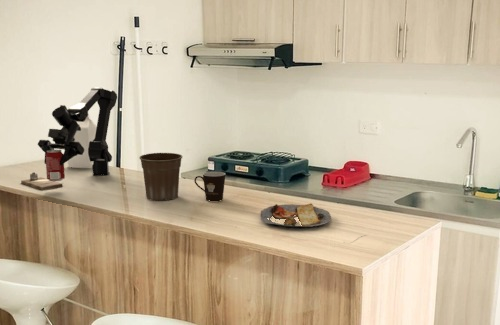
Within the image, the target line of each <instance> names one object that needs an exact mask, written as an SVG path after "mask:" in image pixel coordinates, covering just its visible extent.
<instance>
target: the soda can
mask: <svg viewBox="0 0 500 325" xmlns="http://www.w3.org/2000/svg"><path fill="white" fill-rule="evenodd" d="M63 154H64V152H62V149H54V150H48V151H47V154H46V164H45V171H46V179H48V180H49V181H55V182H60V181H63V180H64V179H65V163H64V164H63V165H60V161H61V158H62V156H63Z"/></svg>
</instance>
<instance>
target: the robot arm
mask: <svg viewBox="0 0 500 325" xmlns="http://www.w3.org/2000/svg"><path fill="white" fill-rule="evenodd" d="M117 100H118V94H117V93H116V91H114V90H109V89H104V88H102V87H92V88H91V89H90V91H88V93H87V94H86V95H85V96H84V97H83V98H82V100H81V101H79V103H77V104H74V105H72V106H71V107H68V108H67V106H66V105H64V104H60V105H59V107H56V108H55V109H54V110H53V111H52V113H51V115H52V117H53V119H55V121H56V122H57V124H58V125H59V126H61V127H62V128H61V129H58V128H49V129H48V134H47V138H51V139H52V142H54V143H52V142H51V141H50V140H49V139H39V141H38V142H37V146H38V147H39V148H40V149H41V150H42V152H44V162H43V163H44V164H45V165H46V154H47V151H48V150H63V151H64V152H63V156H62V158H61V161H60V165H63V164H64V165H65V163H68V160H69V159H71V158H73V157H74V156H77V155H82V154H83V153H84V148H83V147H82V145H81V144H80V143H79V142H75V139H74V136H75V134H76V131H81V128H80V125H79V124H78V123H77V122H84V121H85V119H86V118H87V116H88V114H89V111H90V109H91V108H92V107H93V106H95V104H96V102H97V104H98V106H99V111H98V116H97V122H96V127H97V128H96V134H95V139H94V140H93V141H90V142H89V148H88V155H89V159H90V161H94V162H93V165H92V168H91V169H92V175H93V177H94V176H95V177H96V176H97V177H99V176H109V174H110V169H109V167H110V166H109V163H110V162H111V161H112V160H113V156H112V154H111V153H110V152H109V146H108V145H109V144H108V143H107V135H108V128H109V123H110V117H111V110H112V109H113V108H114V107H115V106H116V103H117Z"/></svg>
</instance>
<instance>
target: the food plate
mask: <svg viewBox="0 0 500 325" xmlns="http://www.w3.org/2000/svg"><path fill="white" fill-rule="evenodd" d="M294 215H296V217H298V219H299V221H300V222H301V225H302V226H301V225H297V224H298V223H297V222H296V220H295V219H294V218H293V216H294ZM272 216H273V217H274V218H275V219H279V220H280V219H286V220H285V222H284V223H283V224H282V223H281V224H280V223H277V222H272V221H271V220H270V218H271V217H272ZM267 218H269V220H268V219H267ZM260 220H261V221H262V222H264V223H265V224H271V225H276V226H280V225H282V226H281V227H286V226H288V228H310V227H311V228H313V226H315V227H318V226H320V225H325V224H328V223H330V222H331V221H332V220H333V219H332V215H331V214H330V212H329V211H328V210H326V209H323V208H321V207H317V206H314V204H313V203H312V202H311V203H308V204H293V203H292V204H291V203H290V204H277V203H275V204H274V205H271V206H268V207H266V208H263V209H262V210H261V211H260ZM296 223H297V224H296Z"/></svg>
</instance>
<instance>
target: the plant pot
mask: <svg viewBox="0 0 500 325" xmlns="http://www.w3.org/2000/svg"><path fill="white" fill-rule="evenodd" d="M182 159H183V155H182V154H179V153H174V152H173V153H172V152H154V153H153V152H151V153H146V154H142V155H139V160H140V165H141V168H142V173H143V180H144V188H145V196H146V199H147V200H150V201H154V200H155V201H156V202H159V201H160V202H161V200H162V201H164V200H165V201H171V200H170V199H172V200H175V199H177V198H178V197H179V185H180V184H179V182H180V181H179V180H180V168H181V165H182Z"/></svg>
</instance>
